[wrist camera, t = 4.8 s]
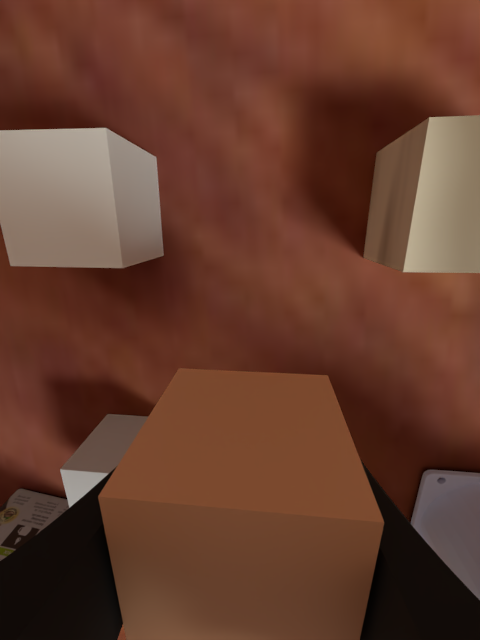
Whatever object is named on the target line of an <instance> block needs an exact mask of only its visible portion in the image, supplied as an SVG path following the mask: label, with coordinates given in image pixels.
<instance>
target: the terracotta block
mask: <svg viewBox="0 0 480 640" xmlns="http://www.w3.org/2000/svg"><path fill="white" fill-rule="evenodd" d="M98 499H99V504H100V509H101V514H102V519H103V524H104V529H105V534H106V539H107V544H108V549H109V554H110V559H111V564H112V569H113V574H114V579H115V585H116V590H117V595H118V600H119V605H120V610H121V615H122V620H123V625H124V630H125V635H126V640H360V636H361V631H362V626H363V622H364V617H365V612H366V607H367V603H368V598H369V593H370V588H371V584H372V579H373V574H374V569H375V565H376V560H377V555H378V550H379V546H380V541H381V536H382V531H383V527H384V520H383V518H382V515H381V512H380V510H379V507H378V505H377V502H376V499H375V497H374V494H373V492H372V489H371V486H370V484H369V481H368V479H367V476H366V473H365V471H364V468H363V466H362V463H361V460H360V458H359V455H358V453H357V450H356V447H355V445H354V442H353V440H352V437H351V434H350V432H349V429H348V427H347V424H346V421H345V419H344V416H343V414H342V411H341V408H340V406H339V403H338V401H337V398H336V395H335V393H334V390H333V388H332V385H331V382H330V380H329V377H328V375H313V374H292V373H270V372H249V371H227V370H206V369H185V368H179V369H178V371H177V372H176V374H175V375H174V377H173V379H172V380H171V382H170V383H169V385H168V386H167V388H166V390H165V391H164V393H163V394H162V396H161V398H160V399H159V401H158V402H157V404H156V405H155V407H154V409H153V410H152V412H151V413H150V415H149V417H148V418H147V420H146V421H145V423H144V425H143V426H142V428H141V429H140V431H139V432H138V434H137V436H136V437H135V439H134V440H133V442H132V444H131V445H130V447H129V448H128V450H127V451H126V453H125V455H124V456H123V458H122V459H121V461H120V463H119V464H118V466H117V467H116V469H115V471H114V472H113V474H112V475H111V477H110V478H109V480H108V482H107V483H106V485H105V486H104V488H103V490H102V491H101V493H100V494H99V496H98Z"/></svg>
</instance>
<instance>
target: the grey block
mask: <svg viewBox="0 0 480 640" xmlns="http://www.w3.org/2000/svg"><path fill="white" fill-rule="evenodd" d="M148 417H149V416H133V415H117V414H107V415H106V416H105V417H104V419H103V420H102V421H101V422H100V423H99V424H98V426H97V427H96V428H95V429H94V430H93V431H92V433H91V434H90V435H89V436H88V437H87V439H86V440H85V441H84V442H83V443H82V444H81V446H80V447H79V448H78V449H77V450H76V451H75V453H74V454H73V455H72V456H71V457H70V458H69V460H68V461H67V462H66V463H65V464H64V465H63V467H62V468H61V469H60V471H61V475H62V479H63V484H64V488H65V492H66V496H67V500H68V504H69V508H70V507H71V506H72V505H73V504H75V503H76V502H77V501H78V500H79V499H81V498H82V497H83V496H84V495H85V494H86V493H88V492H89V491H90V490H91V489H92V488H93V487H94V486H95V485H97V484H98V483H99V482H100V481H101V480H102V479H103V478H104V477H105V476H107V475H108V474H109V473H110V472H111V471H112V470H113V469H114V468H115V467H116V466H117V465H118V464H119V463H120V461H121V459H122V458H123V456H124V455H125V453H126V451H127V450H128V448H129V447H130V445H131V444H132V442H133V440H134V439H135V437H136V436H137V434H138V432H139V431H140V429H141V428H142V426H143V425H144V423H145V421H146V420H147V418H148Z"/></svg>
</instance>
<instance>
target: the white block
mask: <svg viewBox="0 0 480 640" xmlns="http://www.w3.org/2000/svg"><path fill="white" fill-rule="evenodd" d="M0 224H1V229H2V233H3V237H4V241H5V245H6V249H7V253H8V258H9V262H10V266H35V267H87V268H125V267H128V266H132V265H135V264H138V263H142V262H145V261H148V260H151V259H155V258H158V257H161V256H164V253H163V239H162V226H161V213H160V200H159V187H158V173H157V160H156V157H155V156H153V155H152V154H150V153H148V152H146V151H145V150H143V149H141V148H140V147H138V146H136V145H134V144H133V143H131V142H129V141H128V140H126V139H124V138H122V137H121V136H119V135H117V134H116V133H114V132H112V131H111V130H109V129H107V128H78V129H39V130H0Z"/></svg>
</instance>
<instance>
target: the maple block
mask: <svg viewBox="0 0 480 640" xmlns="http://www.w3.org/2000/svg"><path fill="white" fill-rule="evenodd" d="M363 258H365V259H368V260H371V261H373V262H376V263H379V264H382V265H385V266H388V267H390V268H393V269H396V270H399V271H402V272H446V273H480V115H479V116H451V117H429V118H428V119H426V120H425V121H423V122H422V123H420V124H419V125H417V126H416V127H414V128H413V129H411V130H410V131H408V132H407V133H405V134H404V135H402V136H401V137H399V138H398V139H396V140H395V141H393V142H392V143H390V144H389V145H387V146H386V147H384V148H383V149H381V150H380V151H378V152H377V153H376V161H375V169H374V177H373V185H372V193H371V201H370V209H369V216H368V224H367V232H366V240H365V248H364V256H363Z"/></svg>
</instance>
